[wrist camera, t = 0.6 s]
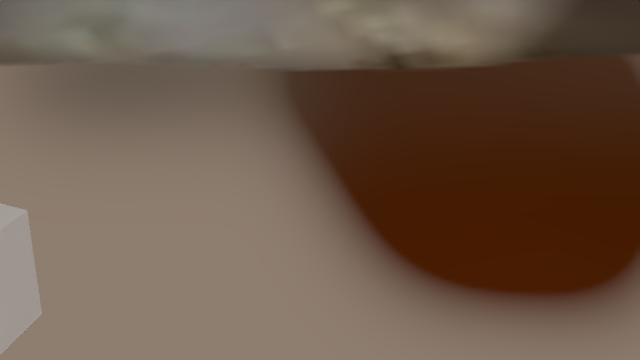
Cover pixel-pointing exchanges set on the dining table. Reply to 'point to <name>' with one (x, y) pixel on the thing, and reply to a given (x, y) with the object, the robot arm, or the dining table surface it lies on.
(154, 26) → the dining table surface
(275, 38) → the dining table surface
